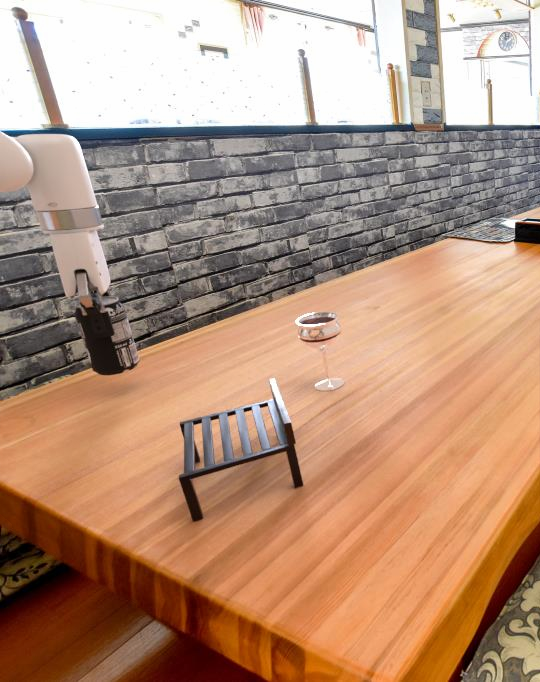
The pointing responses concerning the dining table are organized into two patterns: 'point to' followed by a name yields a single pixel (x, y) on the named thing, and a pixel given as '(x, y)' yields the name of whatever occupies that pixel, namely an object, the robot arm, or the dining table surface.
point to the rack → (282, 432)
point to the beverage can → (110, 341)
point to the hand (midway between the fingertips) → (105, 329)
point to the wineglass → (321, 340)
